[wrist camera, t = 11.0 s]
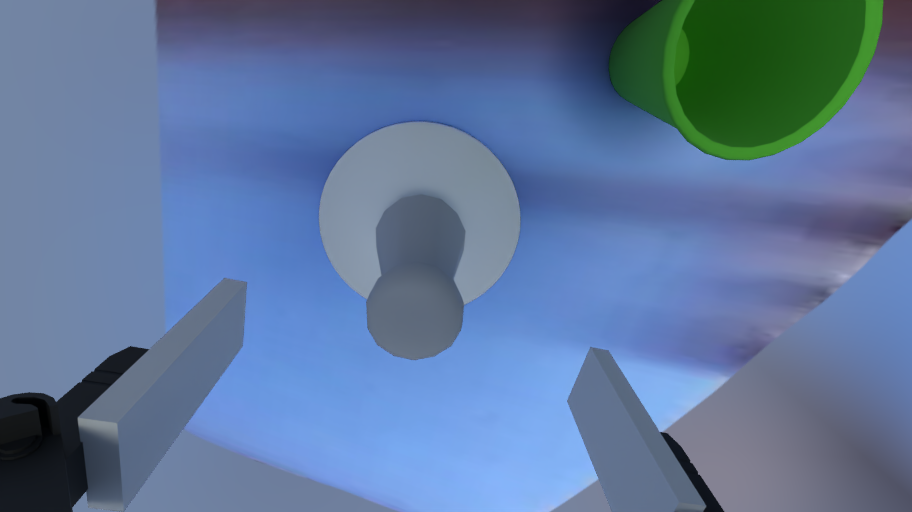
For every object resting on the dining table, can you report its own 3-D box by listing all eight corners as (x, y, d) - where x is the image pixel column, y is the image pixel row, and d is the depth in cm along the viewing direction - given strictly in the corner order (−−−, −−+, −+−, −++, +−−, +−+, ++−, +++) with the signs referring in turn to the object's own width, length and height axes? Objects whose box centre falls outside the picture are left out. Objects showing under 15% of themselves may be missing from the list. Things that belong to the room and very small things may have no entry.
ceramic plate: (466, 82, 27) (468, 82, 26) (545, 259, 32) (549, 265, 31) (282, 179, 29) (277, 183, 28) (385, 333, 34) (383, 341, 33)
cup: (552, 101, 28) (622, 113, 18) (623, -50, 25) (755, -138, 15) (664, 153, 30) (786, 191, 20) (743, 18, 27) (934, -20, 17)
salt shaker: (430, 169, 28) (429, 234, 16) (478, 234, 30) (511, 336, 18) (362, 219, 29) (314, 316, 17) (413, 279, 31) (402, 403, 19)
